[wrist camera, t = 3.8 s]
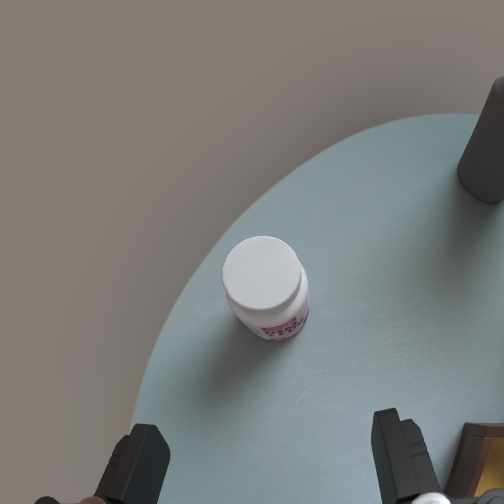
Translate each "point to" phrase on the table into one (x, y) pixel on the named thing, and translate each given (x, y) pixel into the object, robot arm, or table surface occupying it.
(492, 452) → the divided wooden box
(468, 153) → the bottle
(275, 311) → the pill bottle
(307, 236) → the table surface
